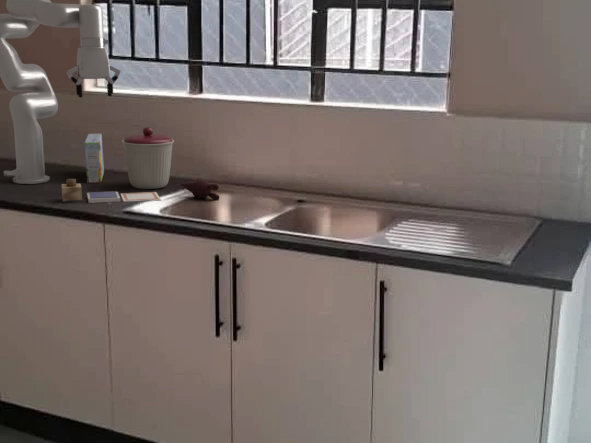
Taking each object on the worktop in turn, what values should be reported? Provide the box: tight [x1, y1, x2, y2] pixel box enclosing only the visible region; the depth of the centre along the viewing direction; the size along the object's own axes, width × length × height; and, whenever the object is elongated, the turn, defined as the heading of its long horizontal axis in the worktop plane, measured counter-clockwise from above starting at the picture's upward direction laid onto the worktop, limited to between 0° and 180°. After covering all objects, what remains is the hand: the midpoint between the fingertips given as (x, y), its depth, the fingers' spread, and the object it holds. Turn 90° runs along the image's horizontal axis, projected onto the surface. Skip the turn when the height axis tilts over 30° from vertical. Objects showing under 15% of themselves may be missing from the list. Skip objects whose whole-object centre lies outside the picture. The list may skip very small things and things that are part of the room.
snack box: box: [84, 133, 105, 184], centre depth 305 cm, size 21×6×15 cm, turn 10°
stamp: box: [61, 178, 83, 204], centre depth 268 cm, size 6×6×7 cm
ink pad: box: [86, 190, 121, 204], centre depth 272 cm, size 10×10×2 cm
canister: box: [121, 126, 175, 190], centre depth 290 cm, size 18×18×21 cm
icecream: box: [180, 177, 220, 201], centre depth 275 cm, size 7×7×15 cm
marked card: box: [120, 191, 162, 203], centre depth 275 cm, size 12×12×1 cm
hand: (95, 96), depth 273 cm, fingers open, 9 cm apart
